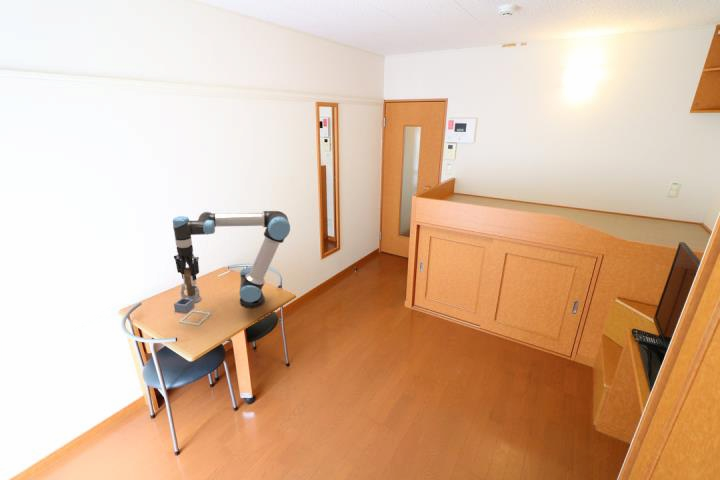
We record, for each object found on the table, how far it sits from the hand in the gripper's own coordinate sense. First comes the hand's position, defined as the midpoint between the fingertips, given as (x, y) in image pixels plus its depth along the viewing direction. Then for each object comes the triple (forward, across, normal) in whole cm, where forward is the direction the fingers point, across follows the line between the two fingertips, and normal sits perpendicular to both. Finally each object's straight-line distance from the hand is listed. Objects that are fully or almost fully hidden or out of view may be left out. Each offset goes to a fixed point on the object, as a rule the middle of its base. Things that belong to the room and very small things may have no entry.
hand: (190, 284), depth 184 cm
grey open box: (+23, +12, -7) cm, 27 cm away
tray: (+23, 0, 0) cm, 23 cm away
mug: (+23, +15, -17) cm, 32 cm away
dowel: (+6, 0, 0) cm, 6 cm away
